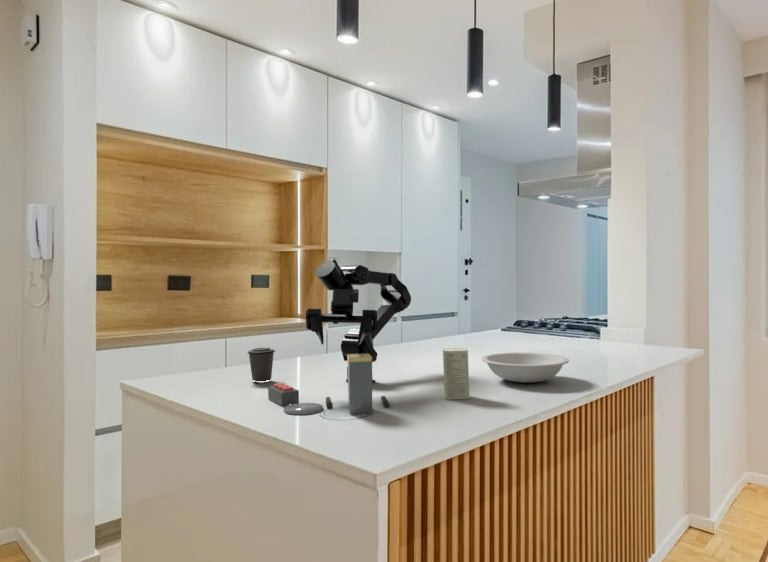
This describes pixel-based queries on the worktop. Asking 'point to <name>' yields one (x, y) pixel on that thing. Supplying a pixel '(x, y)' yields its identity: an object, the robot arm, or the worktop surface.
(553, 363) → the soup bowl
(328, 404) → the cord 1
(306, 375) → the worktop surface
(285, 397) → the gray power strip
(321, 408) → the gray disc
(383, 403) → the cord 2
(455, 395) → the skincare box
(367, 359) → the charcoal tea tin
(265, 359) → the coffee cup
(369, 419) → the worktop surface
